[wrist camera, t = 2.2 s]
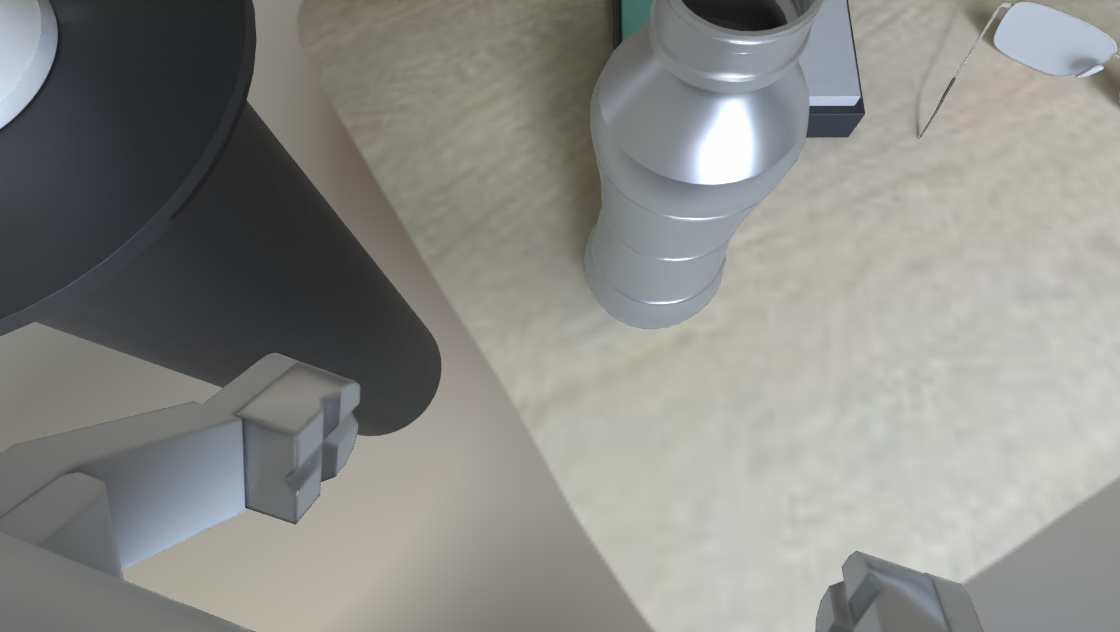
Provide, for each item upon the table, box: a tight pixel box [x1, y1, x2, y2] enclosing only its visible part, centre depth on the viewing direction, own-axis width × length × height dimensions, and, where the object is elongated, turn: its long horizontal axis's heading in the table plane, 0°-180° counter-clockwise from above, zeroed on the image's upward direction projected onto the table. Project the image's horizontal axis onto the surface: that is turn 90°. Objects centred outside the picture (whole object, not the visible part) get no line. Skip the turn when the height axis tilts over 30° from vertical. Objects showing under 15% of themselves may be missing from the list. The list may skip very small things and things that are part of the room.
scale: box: [612, 0, 865, 137], centre depth 36 cm, size 13×13×3 cm
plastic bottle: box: [584, 0, 824, 329], centre depth 24 cm, size 6×7×20 cm
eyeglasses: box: [919, 1, 1120, 139], centre depth 34 cm, size 14×8×4 cm, turn 56°
